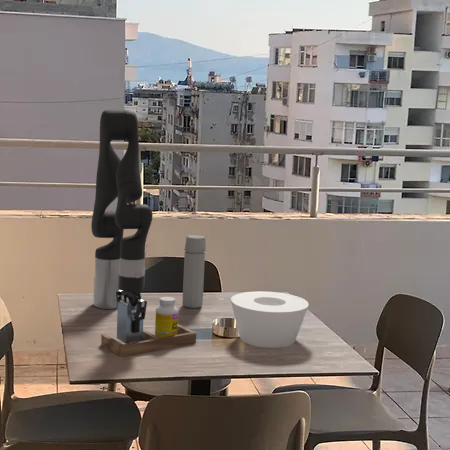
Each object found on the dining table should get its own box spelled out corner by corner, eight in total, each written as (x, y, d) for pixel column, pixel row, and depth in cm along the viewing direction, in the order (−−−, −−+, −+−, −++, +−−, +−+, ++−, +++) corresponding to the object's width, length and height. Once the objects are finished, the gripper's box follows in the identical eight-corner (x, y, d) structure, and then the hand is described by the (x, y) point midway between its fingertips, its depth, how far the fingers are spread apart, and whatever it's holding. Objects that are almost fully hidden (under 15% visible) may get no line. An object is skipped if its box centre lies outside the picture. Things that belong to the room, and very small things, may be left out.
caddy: (101, 344, 212) (101, 334, 211) (174, 331, 227) (174, 322, 227) (121, 356, 203) (121, 346, 202) (196, 342, 218) (196, 332, 218)
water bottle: (203, 309, 254) (206, 239, 250) (180, 308, 254) (183, 238, 250) (204, 302, 263) (207, 234, 259) (182, 301, 263) (185, 233, 259)
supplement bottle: (173, 344, 215) (175, 302, 213) (151, 342, 216) (153, 300, 214) (179, 337, 222) (181, 297, 220) (158, 335, 223) (159, 294, 221)
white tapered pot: (217, 343, 218) (219, 305, 216) (243, 323, 240) (245, 287, 239) (295, 356, 210) (297, 316, 208) (314, 334, 233) (316, 297, 231)
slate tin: (116, 338, 212) (117, 299, 210) (133, 335, 216) (134, 297, 214) (126, 343, 208) (127, 304, 206) (142, 340, 211) (144, 302, 209)
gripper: (108, 269, 212) (106, 325, 215) (133, 279, 201) (131, 338, 203) (130, 266, 216) (128, 321, 219) (156, 277, 205) (154, 334, 208)
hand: (130, 329), depth 211 cm, fingers closed on slate tin, 5 cm apart
